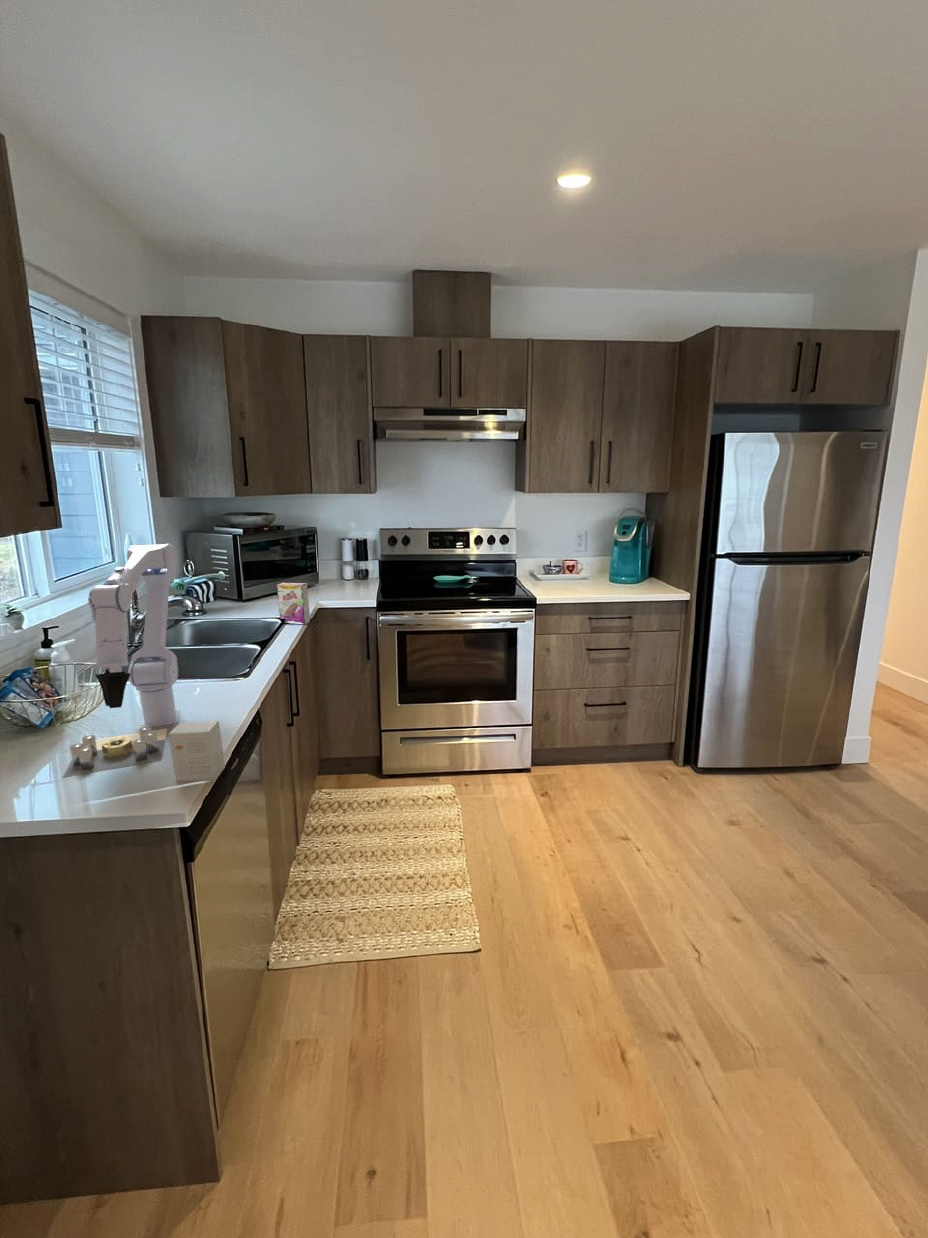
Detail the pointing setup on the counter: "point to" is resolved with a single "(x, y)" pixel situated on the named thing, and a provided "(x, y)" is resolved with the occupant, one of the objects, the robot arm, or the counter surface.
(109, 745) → the brass nut
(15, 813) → the counter surface
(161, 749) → the spacer mat
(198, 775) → the small box
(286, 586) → the candy bar box
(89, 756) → the standing spacers
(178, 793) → the counter surface
